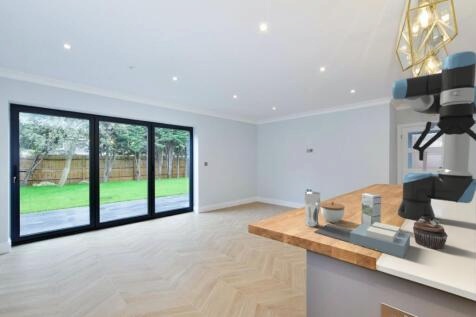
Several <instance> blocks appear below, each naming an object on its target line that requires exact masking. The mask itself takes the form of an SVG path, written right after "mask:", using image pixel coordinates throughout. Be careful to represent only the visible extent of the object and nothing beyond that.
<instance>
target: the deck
mask: <svg viewBox="0 0 476 317" xmlns="http://www.w3.org/2000/svg"><path fill="white" fill-rule="evenodd" d="M369 227H370V225H366V224H361V223H360V224H359V225H358V226H357V227H356V228H354V229H352V230H353V231H351V232H350V243H349V244H352V243H353V245H356V244H357V245H356V246H359V245H361V246H360V247H362V246H364V247H363V248H366V247H368V248H367V249H369V248H373V249H377V250H380V251H381V252H380V251H379V252H380V253H383V254H386V255H391V256H394V257H397V258H401V259H404V257H405V255H406V253H407V252H408V251H409V250H408V249H409V247H410V246H411V245H410V244H411V234H410V233H406V232H401V231H400V233H399V234H398V236H396V239H395V240H394V242H389V241H385V240H381V239H377V238H373V237H369V236H366V230H367V229H368V228H369ZM371 227H372V226H371ZM373 249H372V250H373Z"/></svg>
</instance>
